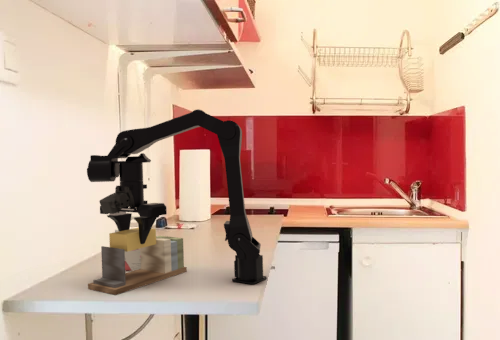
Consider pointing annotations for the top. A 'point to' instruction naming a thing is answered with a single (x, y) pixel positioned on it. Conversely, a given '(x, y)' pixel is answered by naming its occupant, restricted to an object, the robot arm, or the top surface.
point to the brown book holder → (152, 266)
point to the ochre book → (131, 239)
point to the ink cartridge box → (132, 253)
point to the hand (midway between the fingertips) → (133, 242)
